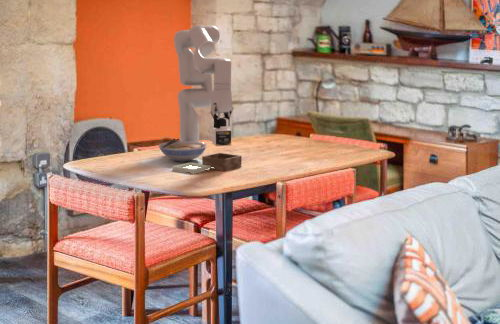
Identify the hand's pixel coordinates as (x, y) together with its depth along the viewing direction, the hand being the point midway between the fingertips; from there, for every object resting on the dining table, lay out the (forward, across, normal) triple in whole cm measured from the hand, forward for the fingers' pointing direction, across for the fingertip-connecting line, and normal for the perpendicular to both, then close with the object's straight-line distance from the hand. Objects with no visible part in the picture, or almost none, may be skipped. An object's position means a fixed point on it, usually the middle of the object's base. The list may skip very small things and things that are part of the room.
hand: (221, 126), depth 341 cm
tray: (+18, +14, -5) cm, 24 cm away
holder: (+18, 0, +1) cm, 18 cm away
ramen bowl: (+19, 0, -23) cm, 30 cm away
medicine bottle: (+8, 0, 0) cm, 8 cm away
